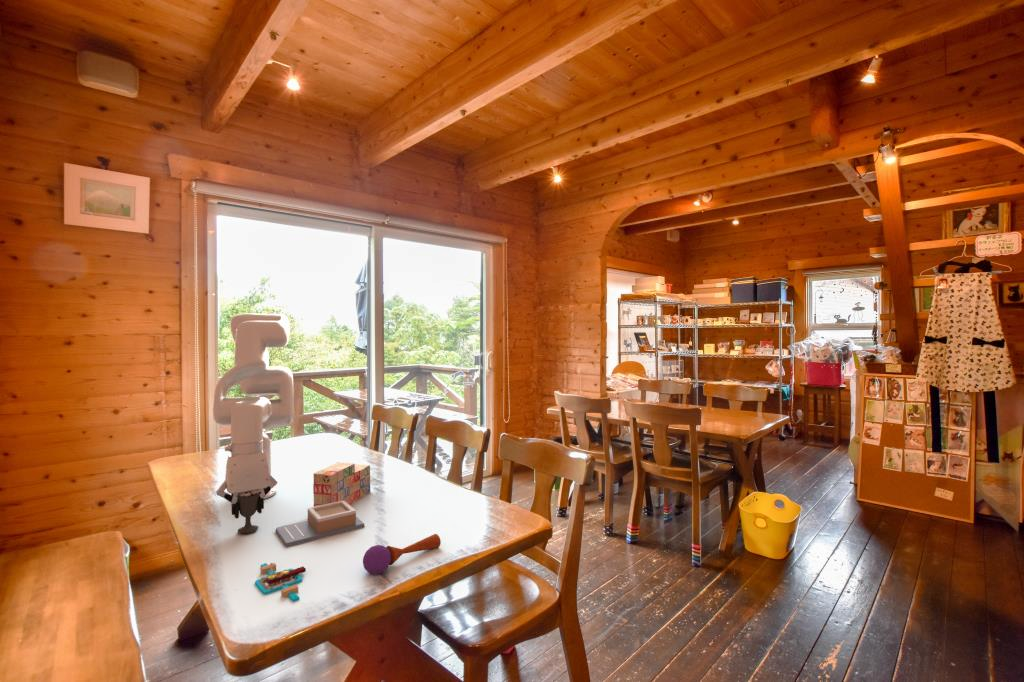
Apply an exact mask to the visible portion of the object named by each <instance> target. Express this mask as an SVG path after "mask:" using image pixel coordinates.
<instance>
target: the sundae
mask: <svg viewBox="0 0 1024 682" xmlns="http://www.w3.org/2000/svg"><path fill="white" fill-rule="evenodd" d="M261 493H262V492H261ZM261 493H259V490H253V491H248V492H243V493H239V495H238V496H236V497H238V499H237V501H238V503H239V515H241V516H242V517H243V518H245V523H244V525H243V526H242V527H239V528H238V529H237V532H238V534H251V533H254V532H256V531H257V530H258V529H259V526H258V525H255V524H252V521H251V519H252V517H253V516H254V514H255V513H256V512H257V504H258V498H259V495H260V494H261Z"/></svg>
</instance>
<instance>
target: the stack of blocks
mask: <svg viewBox="0 0 1024 682" xmlns="http://www.w3.org/2000/svg"><path fill="white" fill-rule="evenodd" d="M312 475H313V484H312V485H313V488H312V491H313V507H315V506H320V505H324V504H329V503H334V502H338V501H343V500H344V501H345V502H346V503H347V504H349V505H351V504H352V503H354V502H356V501H357V500H359V499H360V498H362V497H364V496H365V495H367V494H370V493H371V465H370V464H361V463H360V464H356V463H353V462H336V463H333V464H330V465H329V466H327V467H325V468H323V469H321V470H319V471H316V472H314V473H313V474H312Z"/></svg>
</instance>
